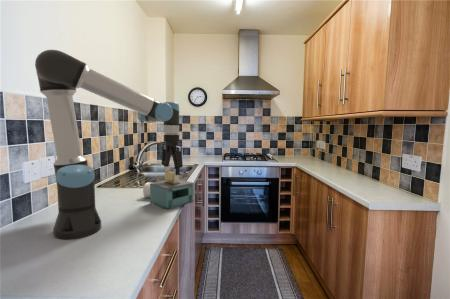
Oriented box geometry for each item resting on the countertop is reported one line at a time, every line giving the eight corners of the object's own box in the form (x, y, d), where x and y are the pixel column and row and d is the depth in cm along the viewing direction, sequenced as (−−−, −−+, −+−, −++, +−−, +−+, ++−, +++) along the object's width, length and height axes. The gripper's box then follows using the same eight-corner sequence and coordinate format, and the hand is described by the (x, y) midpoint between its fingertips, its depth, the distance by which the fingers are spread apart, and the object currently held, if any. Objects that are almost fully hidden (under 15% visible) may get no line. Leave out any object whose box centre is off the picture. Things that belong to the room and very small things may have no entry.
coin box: (167, 209, 117) (166, 188, 116) (150, 203, 126) (150, 183, 125) (193, 202, 129) (193, 182, 128) (176, 196, 138) (176, 178, 137)
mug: (160, 200, 131) (160, 185, 131) (143, 199, 133) (142, 184, 133) (170, 194, 143) (169, 180, 142) (153, 193, 145) (153, 179, 144)
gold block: (178, 186, 126) (177, 172, 125) (173, 187, 124) (173, 173, 123) (171, 184, 130) (170, 171, 129) (166, 185, 128) (165, 172, 127)
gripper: (190, 134, 121) (190, 182, 123) (166, 133, 134) (166, 176, 136) (177, 134, 115) (178, 184, 117) (153, 133, 128) (154, 178, 130)
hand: (171, 180), depth 126 cm, fingers open, 7 cm apart
